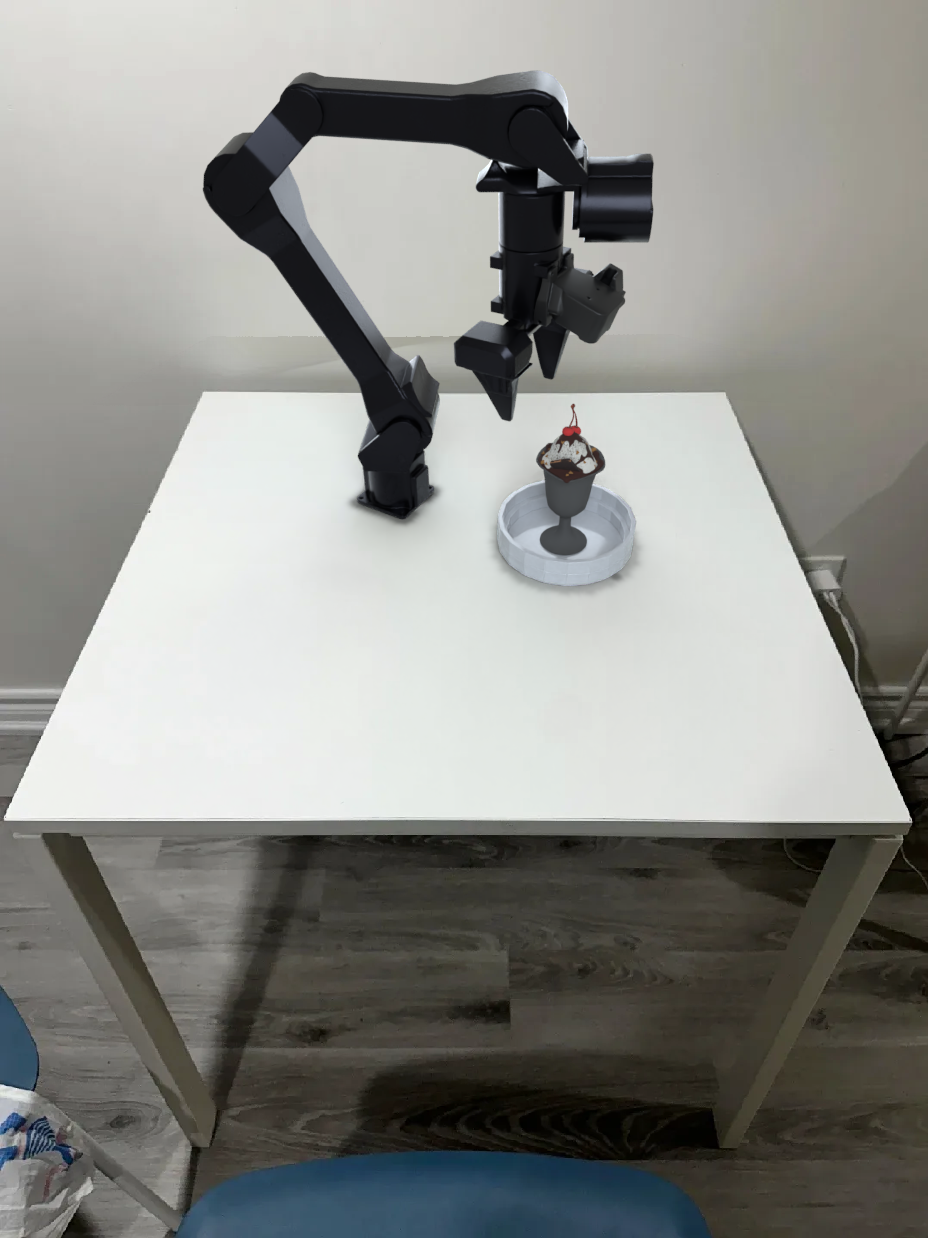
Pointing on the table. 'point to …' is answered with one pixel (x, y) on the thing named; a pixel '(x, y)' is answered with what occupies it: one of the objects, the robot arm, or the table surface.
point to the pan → (600, 522)
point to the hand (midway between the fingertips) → (528, 398)
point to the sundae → (568, 486)
